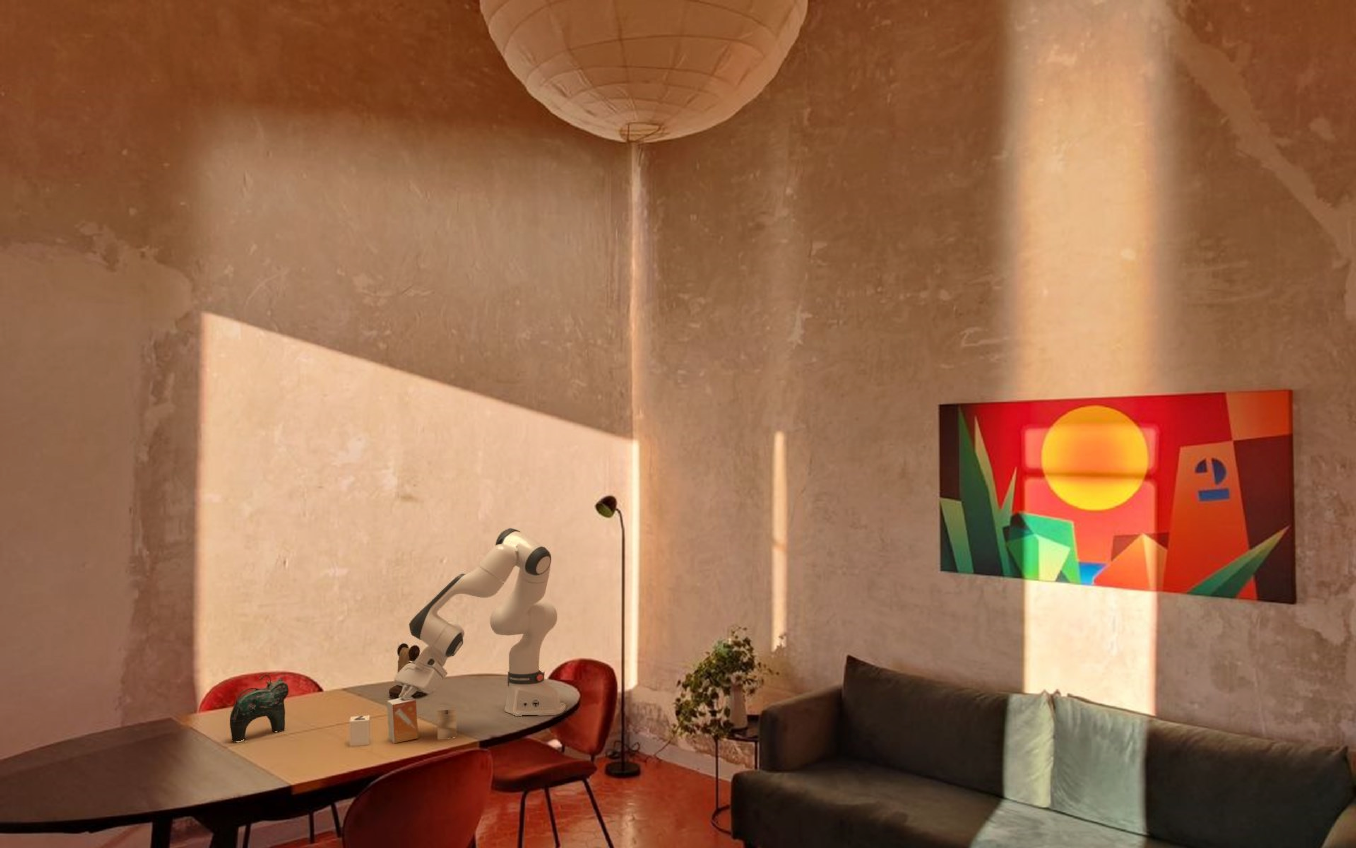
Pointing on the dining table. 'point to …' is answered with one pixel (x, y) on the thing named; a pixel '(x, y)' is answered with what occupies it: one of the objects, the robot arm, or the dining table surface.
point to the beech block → (446, 724)
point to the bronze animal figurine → (259, 708)
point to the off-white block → (359, 730)
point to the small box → (402, 719)
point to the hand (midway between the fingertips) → (402, 698)
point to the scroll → (404, 658)
